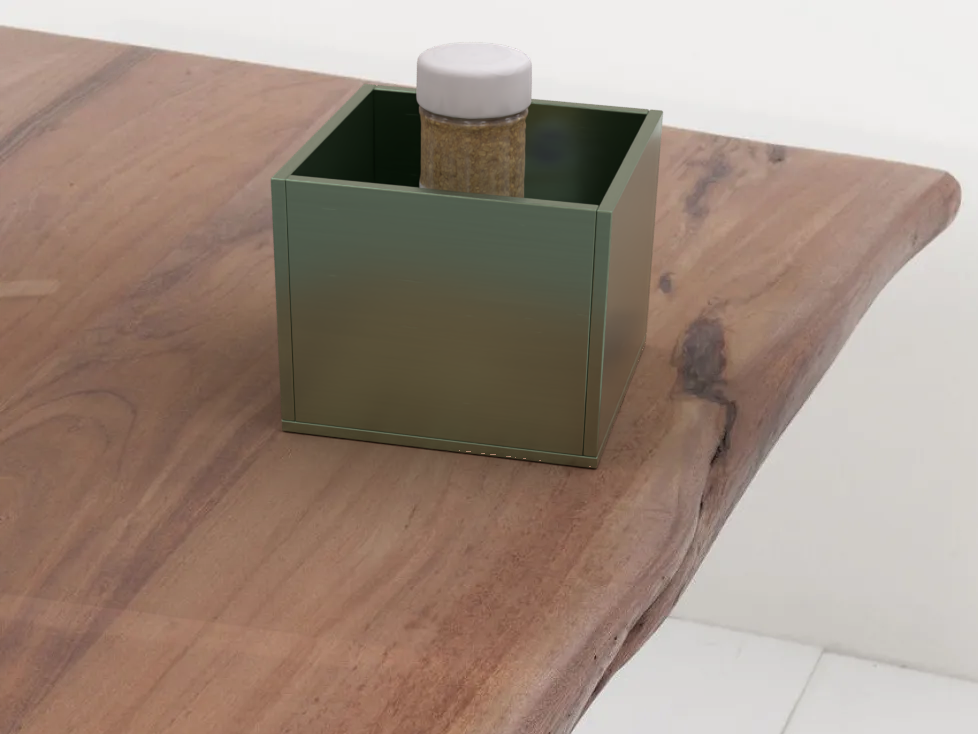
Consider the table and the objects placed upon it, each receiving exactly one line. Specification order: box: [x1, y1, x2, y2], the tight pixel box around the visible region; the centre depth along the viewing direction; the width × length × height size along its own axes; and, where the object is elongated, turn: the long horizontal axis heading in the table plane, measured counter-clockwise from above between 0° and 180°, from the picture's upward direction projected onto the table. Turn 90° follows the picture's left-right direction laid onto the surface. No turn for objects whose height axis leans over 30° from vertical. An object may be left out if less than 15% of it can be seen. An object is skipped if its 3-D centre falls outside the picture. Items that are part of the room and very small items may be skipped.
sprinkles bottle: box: [415, 41, 533, 198], centre depth 78 cm, size 5×5×13 cm
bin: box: [270, 83, 664, 469], centre depth 79 cm, size 13×13×10 cm
